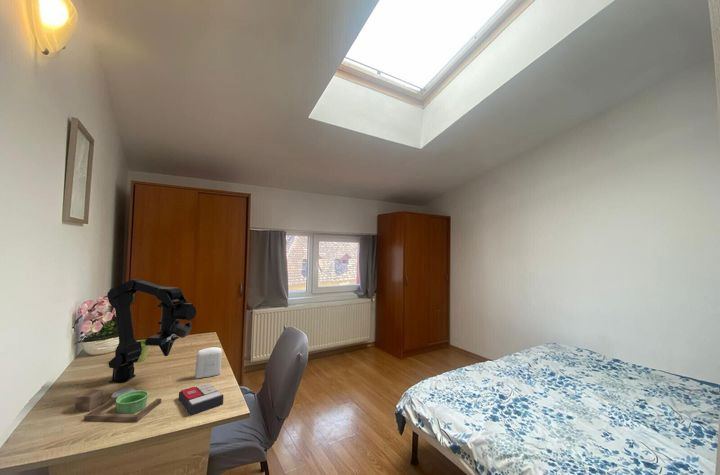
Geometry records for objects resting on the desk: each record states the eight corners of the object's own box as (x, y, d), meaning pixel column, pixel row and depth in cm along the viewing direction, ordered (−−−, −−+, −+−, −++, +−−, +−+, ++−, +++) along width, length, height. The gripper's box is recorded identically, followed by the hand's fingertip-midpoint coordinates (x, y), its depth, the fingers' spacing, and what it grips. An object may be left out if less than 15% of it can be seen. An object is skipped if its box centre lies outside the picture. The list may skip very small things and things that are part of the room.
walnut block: (74, 411, 95) (75, 396, 95) (88, 403, 100) (89, 389, 100) (89, 411, 95) (90, 396, 96) (102, 403, 100) (103, 389, 101)
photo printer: (219, 371, 130) (221, 344, 131) (221, 375, 127) (223, 347, 127) (194, 376, 125) (196, 348, 125) (195, 380, 121) (197, 351, 122)
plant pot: (152, 360, 140) (154, 342, 140) (129, 366, 132) (131, 347, 132) (144, 355, 145) (146, 338, 145) (122, 361, 137) (123, 343, 137)
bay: (83, 420, 90) (84, 415, 91) (113, 401, 102) (114, 397, 102) (137, 421, 91) (137, 417, 91) (161, 402, 102) (161, 398, 103)
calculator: (209, 381, 114) (224, 393, 104) (209, 392, 114) (223, 405, 103) (178, 389, 106) (191, 403, 96) (178, 401, 106) (190, 416, 95)
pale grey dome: (106, 399, 103) (106, 397, 103) (121, 389, 110) (121, 388, 110) (125, 399, 104) (125, 397, 104) (139, 390, 110) (139, 388, 111)
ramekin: (139, 415, 95) (140, 402, 95) (108, 418, 93) (109, 404, 93) (152, 401, 103) (153, 389, 104) (124, 403, 101) (125, 391, 101)
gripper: (174, 324, 108) (171, 365, 107) (200, 313, 126) (198, 348, 125) (145, 323, 107) (142, 364, 106) (175, 312, 126) (173, 347, 125)
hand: (166, 355), depth 116 cm, fingers closed
